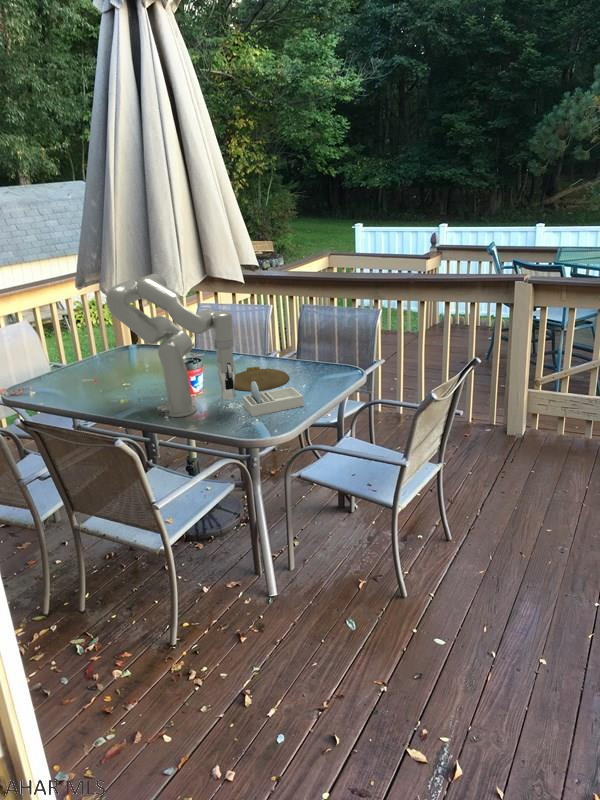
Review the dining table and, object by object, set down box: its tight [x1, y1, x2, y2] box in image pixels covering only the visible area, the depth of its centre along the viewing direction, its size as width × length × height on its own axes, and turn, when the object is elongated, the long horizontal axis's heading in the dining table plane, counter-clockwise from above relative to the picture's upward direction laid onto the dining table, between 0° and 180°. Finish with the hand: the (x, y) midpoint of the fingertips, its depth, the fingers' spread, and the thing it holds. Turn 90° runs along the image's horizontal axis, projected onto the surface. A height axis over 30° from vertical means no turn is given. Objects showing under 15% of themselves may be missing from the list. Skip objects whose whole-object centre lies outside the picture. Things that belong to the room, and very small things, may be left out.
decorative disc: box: [234, 366, 290, 393], centre depth 291 cm, size 29×3×30 cm
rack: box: [242, 381, 305, 417], centre depth 256 cm, size 22×13×12 cm, turn 110°
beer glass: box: [216, 359, 237, 401], centre depth 249 cm, size 7×7×15 cm
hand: (227, 385), depth 250 cm, fingers closed on beer glass, 6 cm apart
